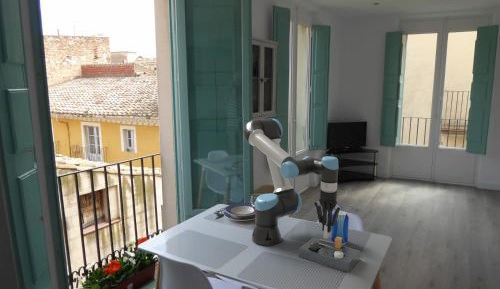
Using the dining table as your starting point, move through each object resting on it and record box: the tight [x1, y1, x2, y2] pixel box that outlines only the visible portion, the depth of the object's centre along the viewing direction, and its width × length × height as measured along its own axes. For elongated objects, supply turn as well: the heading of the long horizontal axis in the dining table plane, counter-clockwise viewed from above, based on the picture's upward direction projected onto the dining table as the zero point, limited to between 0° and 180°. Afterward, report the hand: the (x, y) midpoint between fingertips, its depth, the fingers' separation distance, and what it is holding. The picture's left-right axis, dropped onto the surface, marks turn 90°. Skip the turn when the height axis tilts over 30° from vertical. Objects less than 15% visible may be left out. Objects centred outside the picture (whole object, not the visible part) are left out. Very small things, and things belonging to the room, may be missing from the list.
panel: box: [298, 237, 361, 274], centre depth 164 cm, size 24×14×5 cm, turn 54°
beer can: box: [330, 210, 350, 246], centre depth 180 cm, size 8×8×16 cm
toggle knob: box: [334, 237, 342, 249], centre depth 164 cm, size 2×3×5 cm
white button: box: [334, 251, 344, 259], centre depth 157 cm, size 4×4×4 cm
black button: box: [310, 241, 319, 252], centre depth 164 cm, size 4×4×4 cm
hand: (326, 237), depth 168 cm, fingers closed
